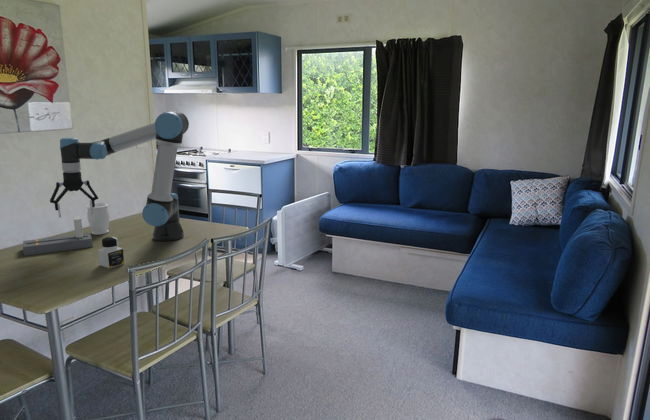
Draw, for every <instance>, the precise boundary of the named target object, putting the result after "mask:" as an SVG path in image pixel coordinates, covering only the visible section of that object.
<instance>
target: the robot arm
mask: <svg viewBox="0 0 650 420" xmlns="http://www.w3.org/2000/svg"><path fill="white" fill-rule="evenodd" d="M189 125H190V122H189V119H188V117H187V116H186V114H184V113H183V112H182V111H178V110H177V111H176V110H175V111H164V112H162V113H161V114H159V115H158V116H157V117H156V119H155V121H154V122H153V123H150V124H146V125H143V126H141V127H136V128H135V129H132V130H131V129H130V130H129V131H126V132H123V133H120V134H117V135H114V136H111V137H108V138H105V139H102V140H97V141H93V142H79V139H78V138H77V137H61V138H60V140H59V149H60V158H61V168H62V171H63V172H62V178H63V182H59V181H57V182H56V183H55V188H54V191H53V193H52V195H51V197H50V200H49V203H50V204H51V203H52V204H54V210H55V211H57V212H58V218H59V219H60V218H61V217H62V216H61V206H60V205H61V204H60V201H61V200H62V199H63V197H65V195H66V193H68V192H73V191H75V192H78V191H80V192H82V193H83V194H84V195H85V196H86V197H87V198H88V199H89V205H90V210H91V215H93V208H92V207H95V204H96V203H95V201H96V200H98V199H99V196H98V194H97V193H96V192H95V191H94V189H93V188H92V186H91V184H90V181H89V180H88V179H86V180H84V181H83V179H82V172H81V160H82V159H83V160H104V159H105V158H106V157H107V156H110V155H112V154H114V153H118V152H120V151H123V150H126V149H127V150H128V149H130V148H132V147H137V146H139V145H142V144H145V143H149V142H152V141H154V140H155V141H156V142H157V143H158V144H157V151H156V156H155V157H156V159H155V165H154V173H153V179H152V185H151V191H150V193H148V194H147V196H146V197H147V198H146V203H145V205H144V207H143V209H142V211H141V214H142V219H143V220H144V221H145V222H146V223H147V225H150V226H152V227H154V228H153V232H152V239H153V240H155V241H158V242H170V241H176V240H180V238H181V239H182V238H184V237H183V236H184V233H185V232H184V228H182V225H181V223H180V211H179V209H180V208H179V196H178V194H177V193H176V192H175V193H173V192H172V187H173V179H174V173H175V167H176V160H177V153H178V148H179V146H180V145H182V143H183V137H184V134H186V132H187V131H188V129H189ZM83 185H85V186H86V187H87V188H88V189H89V191H90V193H91V194H92V195H93V196H92V195H91V194H90V193H88V192H87V191H86V190H85V189H84V188H83ZM62 186H63V187H64V189H63V190H62V192H61V193H60V194H58V192H59V189H60V188H61V187H62ZM57 195H58V196H57ZM56 196H57V198H56ZM55 198H56V199H55Z"/></svg>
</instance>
